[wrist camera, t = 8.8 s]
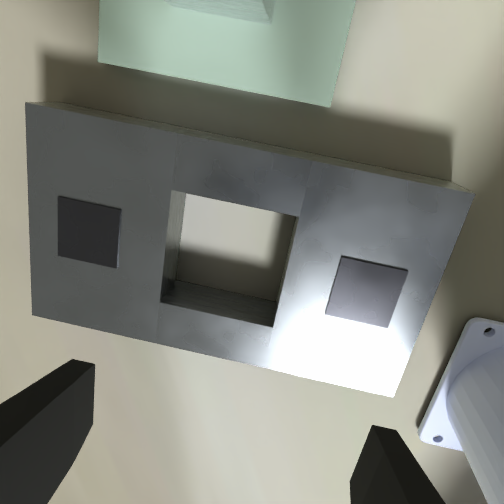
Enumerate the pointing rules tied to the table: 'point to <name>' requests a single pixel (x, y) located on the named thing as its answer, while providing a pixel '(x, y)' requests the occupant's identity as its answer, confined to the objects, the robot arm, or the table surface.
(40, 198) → the plate with square hole
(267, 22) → the steel peg
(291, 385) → the table surface
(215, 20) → the rubber pad
